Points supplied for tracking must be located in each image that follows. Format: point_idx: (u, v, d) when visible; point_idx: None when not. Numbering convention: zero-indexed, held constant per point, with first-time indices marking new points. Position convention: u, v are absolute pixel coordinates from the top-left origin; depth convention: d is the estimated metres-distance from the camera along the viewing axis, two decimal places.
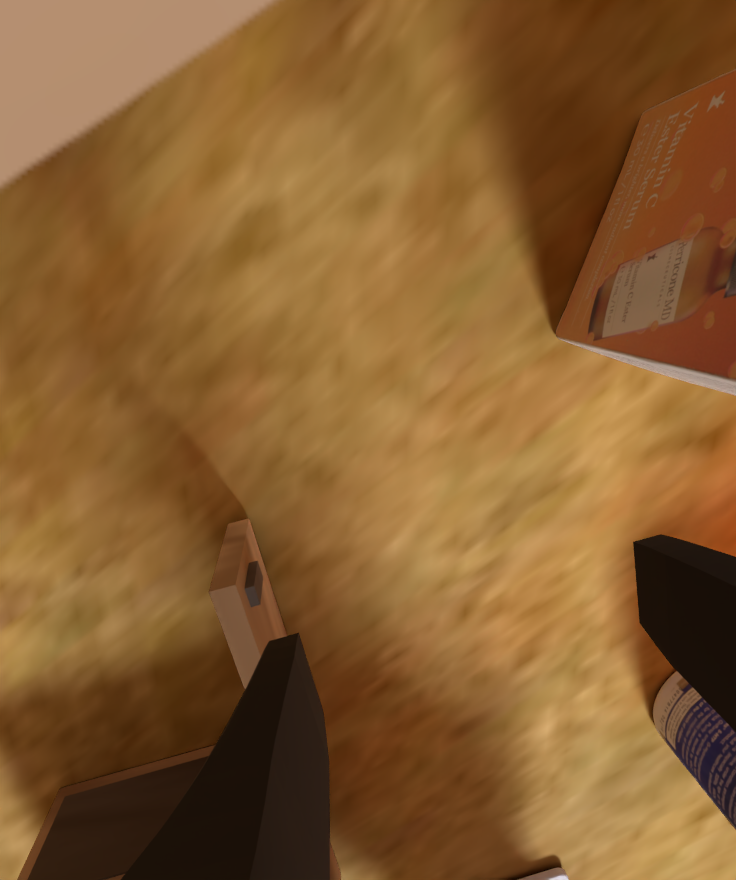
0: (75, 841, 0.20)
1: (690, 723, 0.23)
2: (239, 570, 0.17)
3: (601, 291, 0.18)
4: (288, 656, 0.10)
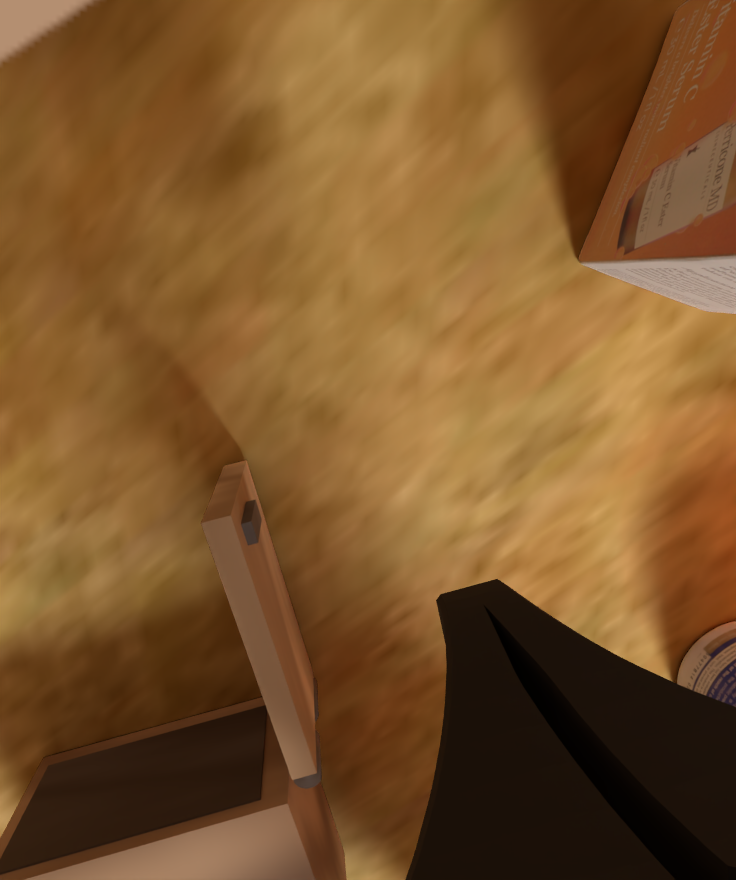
0: (57, 810, 0.19)
1: (719, 689, 0.22)
2: (235, 503, 0.15)
3: (631, 202, 0.16)
4: (474, 605, 0.10)
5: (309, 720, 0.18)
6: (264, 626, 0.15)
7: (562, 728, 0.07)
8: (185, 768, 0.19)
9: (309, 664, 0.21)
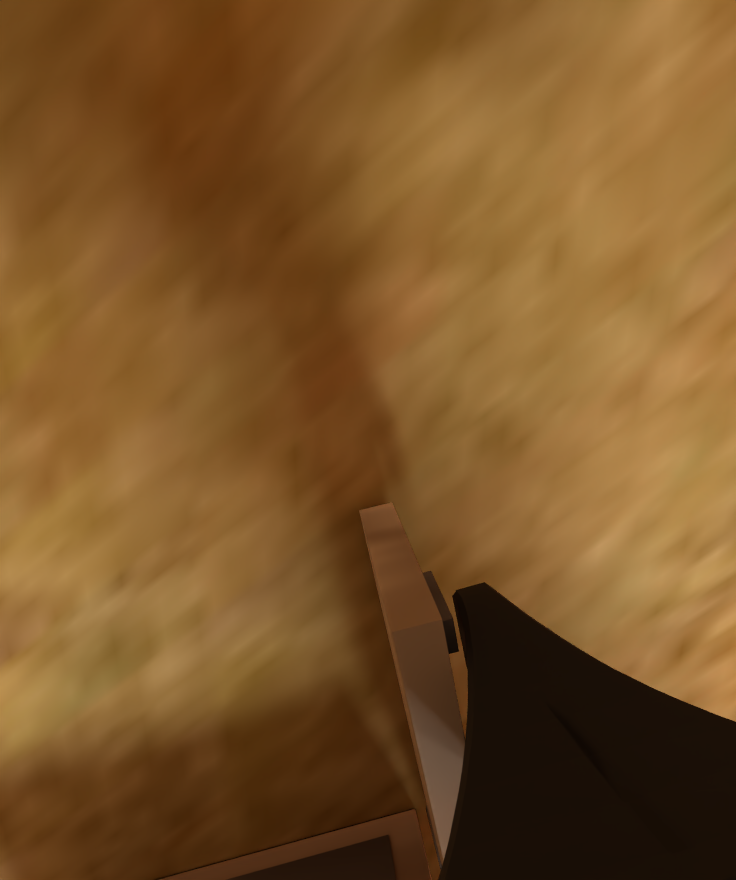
0: None
1: None
2: (428, 589, 0.09)
3: None
4: (492, 600, 0.10)
5: None
6: None
7: None
8: None
9: None
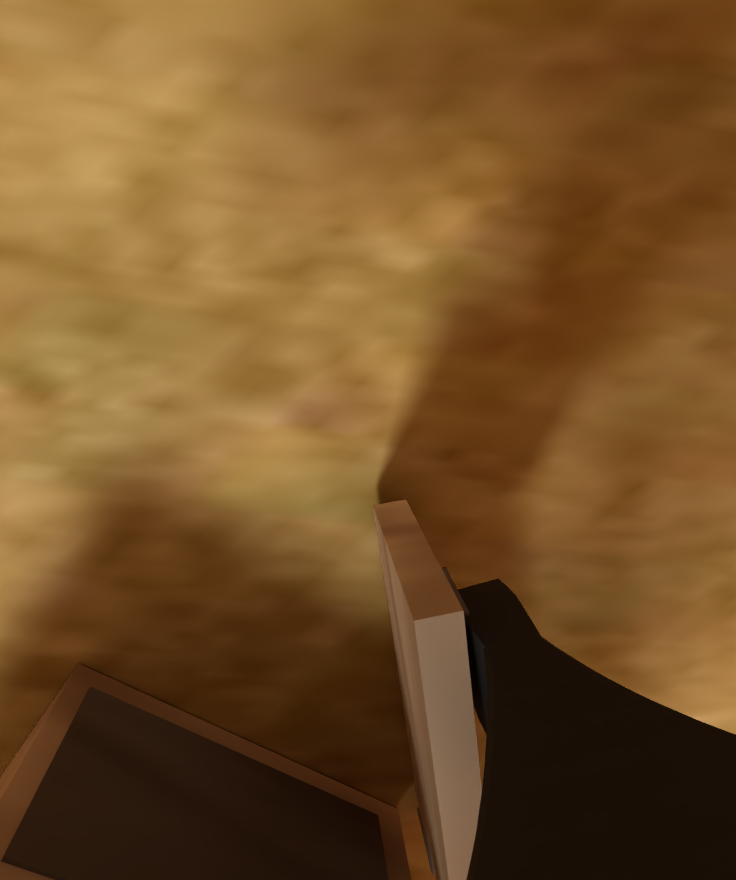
0: (106, 789, 0.11)
1: None
2: (447, 583, 0.09)
3: None
4: (507, 596, 0.10)
5: None
6: (476, 782, 0.09)
7: None
8: (292, 852, 0.12)
9: None
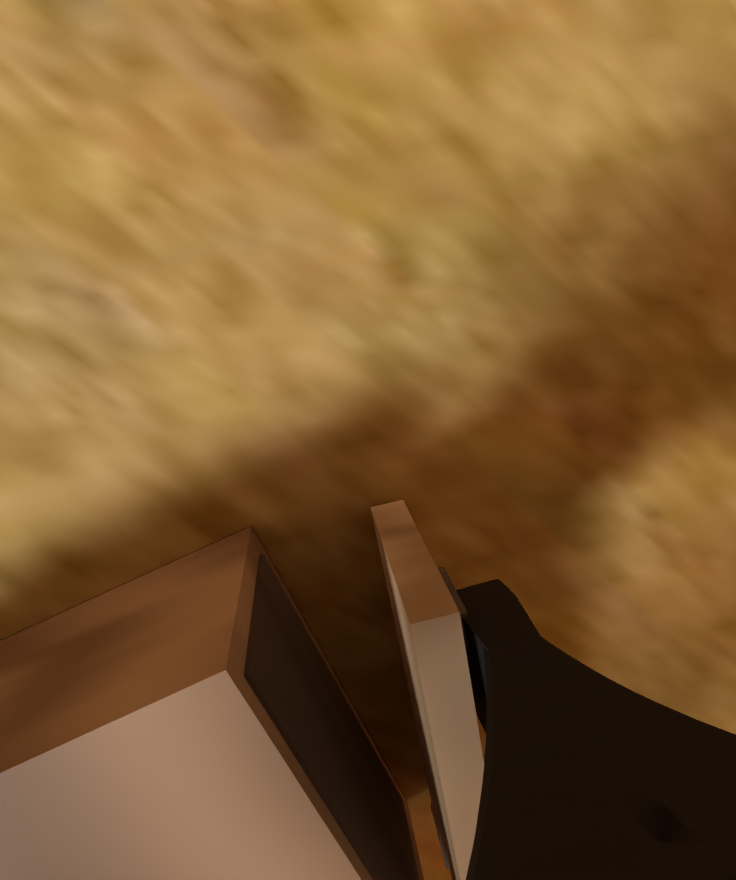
0: (280, 656, 0.11)
1: None
2: (444, 584, 0.09)
3: None
4: (506, 596, 0.10)
5: None
6: (481, 781, 0.09)
7: None
8: (372, 798, 0.12)
9: None
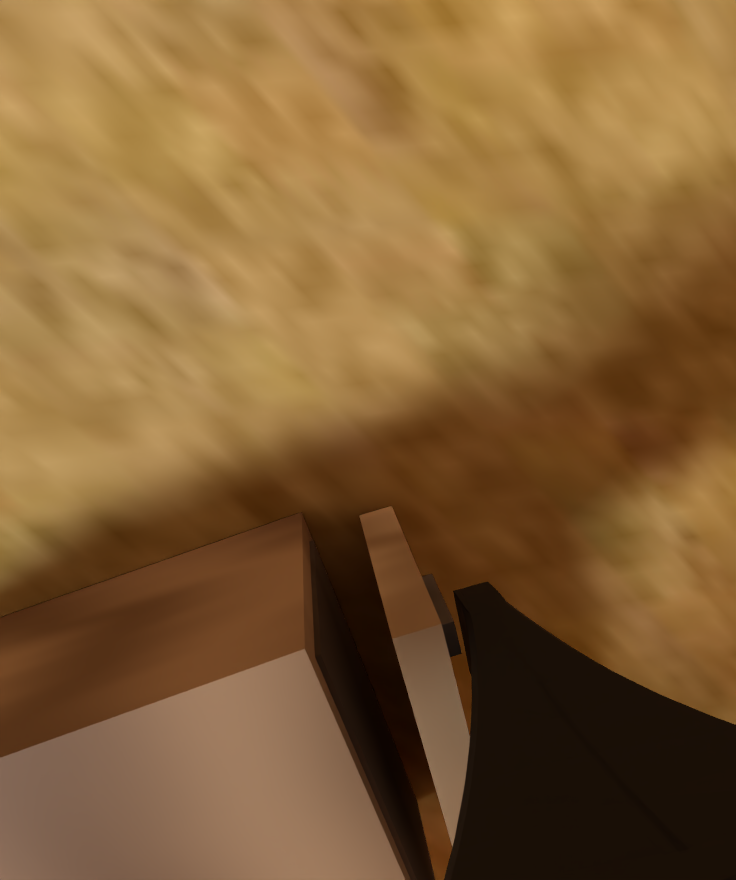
0: None
1: None
2: (428, 594, 0.09)
3: None
4: (495, 599, 0.10)
5: None
6: None
7: None
8: (400, 793, 0.12)
9: None
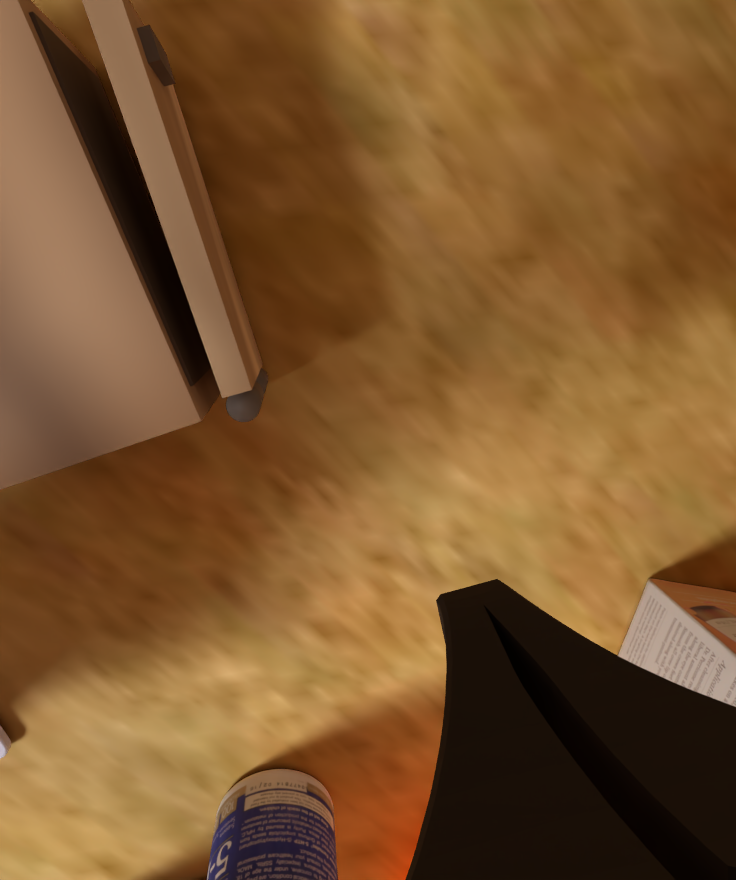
0: (87, 102, 0.14)
1: (290, 812, 0.22)
2: (128, 1, 0.12)
3: (716, 608, 0.22)
4: (474, 605, 0.10)
5: (246, 353, 0.15)
6: (170, 157, 0.12)
7: (562, 728, 0.07)
8: (166, 278, 0.15)
9: (257, 349, 0.18)
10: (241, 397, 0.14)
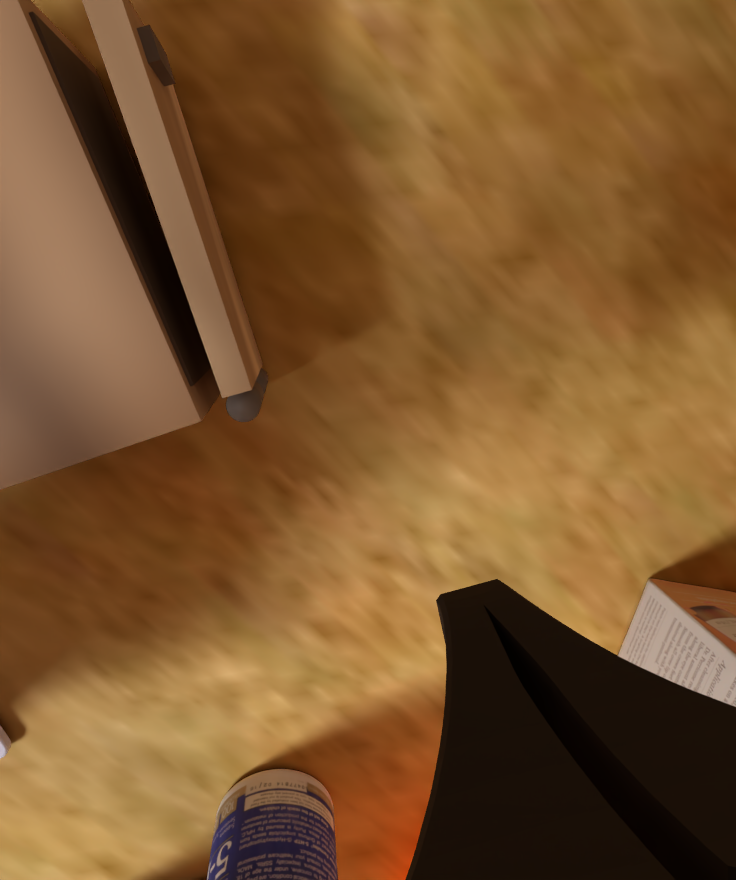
0: (87, 102, 0.14)
1: (290, 812, 0.22)
2: (128, 1, 0.12)
3: (716, 608, 0.22)
4: (474, 605, 0.10)
5: (246, 353, 0.15)
6: (170, 157, 0.12)
7: (562, 728, 0.07)
8: (166, 278, 0.15)
9: (257, 349, 0.18)
10: (241, 397, 0.14)
